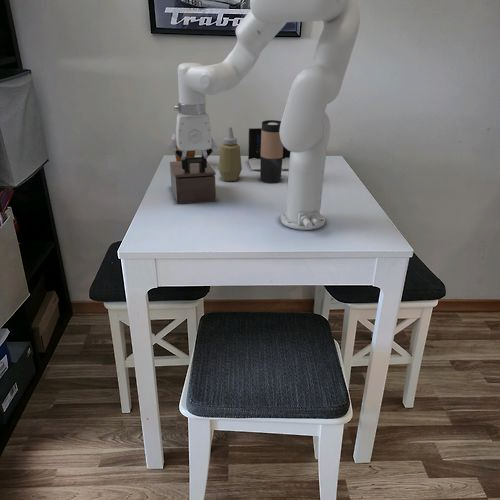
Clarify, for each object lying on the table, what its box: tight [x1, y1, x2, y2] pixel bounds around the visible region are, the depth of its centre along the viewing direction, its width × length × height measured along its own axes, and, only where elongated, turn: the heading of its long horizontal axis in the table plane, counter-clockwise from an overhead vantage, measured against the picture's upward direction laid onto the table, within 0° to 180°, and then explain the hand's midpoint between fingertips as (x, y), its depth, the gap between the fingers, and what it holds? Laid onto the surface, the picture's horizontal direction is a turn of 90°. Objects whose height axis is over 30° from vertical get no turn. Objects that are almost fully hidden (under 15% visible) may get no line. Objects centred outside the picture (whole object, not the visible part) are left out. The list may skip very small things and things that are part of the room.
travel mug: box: [260, 119, 283, 184], centre depth 162 cm, size 8×8×20 cm
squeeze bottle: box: [218, 126, 243, 182], centre depth 163 cm, size 8×8×18 cm
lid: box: [169, 156, 217, 178], centre depth 147 cm, size 16×12×5 cm
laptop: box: [247, 127, 291, 171], centre depth 179 cm, size 18×12×13 cm
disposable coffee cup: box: [170, 131, 196, 162], centre depth 177 cm, size 10×10×12 cm
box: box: [169, 164, 217, 205], centre depth 151 cm, size 15×12×8 cm
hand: (194, 170), depth 143 cm, fingers closed on lid, 4 cm apart
